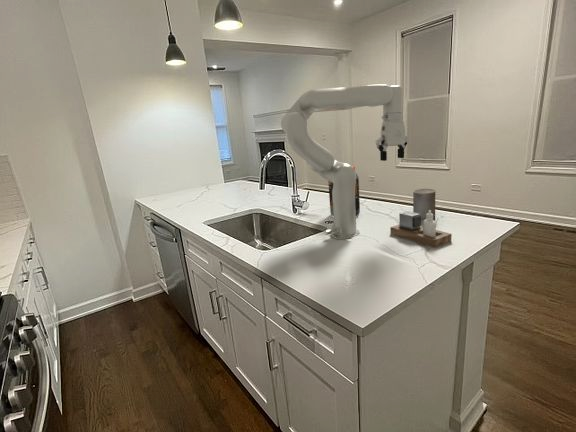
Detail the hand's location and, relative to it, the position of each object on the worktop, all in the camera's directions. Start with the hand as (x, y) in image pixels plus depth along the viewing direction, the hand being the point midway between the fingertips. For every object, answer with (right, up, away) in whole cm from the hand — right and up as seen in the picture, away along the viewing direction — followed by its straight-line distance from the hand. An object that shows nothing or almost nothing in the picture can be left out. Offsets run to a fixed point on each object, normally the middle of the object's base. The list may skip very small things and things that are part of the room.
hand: (392, 159), depth 136 cm
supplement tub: (-14, -24, +34) cm, 44 cm away
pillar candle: (+20, -26, +15) cm, 36 cm away
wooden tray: (+7, -34, -10) cm, 36 cm away
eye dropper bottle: (+9, -34, -15) cm, 38 cm away
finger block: (+5, -32, -7) cm, 33 cm away
